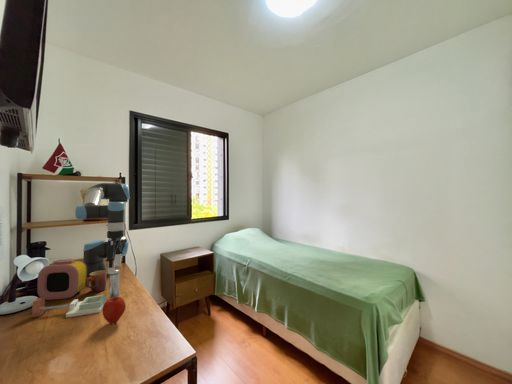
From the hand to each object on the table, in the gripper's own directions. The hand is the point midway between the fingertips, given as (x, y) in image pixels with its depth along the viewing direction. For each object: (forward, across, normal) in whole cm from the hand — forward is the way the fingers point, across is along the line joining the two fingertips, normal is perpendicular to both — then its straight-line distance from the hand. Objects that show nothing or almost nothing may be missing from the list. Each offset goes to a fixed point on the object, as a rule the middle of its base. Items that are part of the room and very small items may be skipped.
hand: (114, 269), depth 115 cm
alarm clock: (+16, -14, -27) cm, 34 cm away
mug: (+16, -14, -12) cm, 24 cm away
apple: (+16, +26, +6) cm, 31 cm away
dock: (+16, +8, -9) cm, 20 cm away
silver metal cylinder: (+16, 0, 0) cm, 16 cm away
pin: (+15, +8, -21) cm, 27 cm away
